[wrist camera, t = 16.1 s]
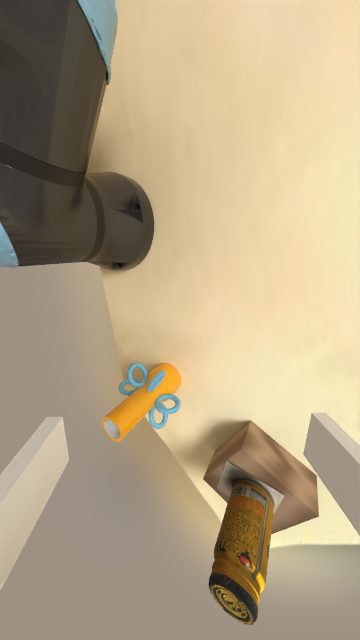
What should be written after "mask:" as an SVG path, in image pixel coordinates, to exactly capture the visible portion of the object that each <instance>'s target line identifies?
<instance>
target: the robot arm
mask: <svg viewBox="0 0 360 640" xmlns="http://www.w3.org/2000/svg"><path fill="white" fill-rule="evenodd" d="M117 21H118V18H117V8H116V3H115V0H0V267H11V268H16V267H18V266H31V265H45V264H59V263H72V262H89V263H92V264H95V265H99V266H102V267H105V268H108V269H112V270H123V269H130V268H133V267H135V266H137V265H138V264H139V263H140V262H141V261H142V260H143V259H144V258H145V257H146V255H147V253H148V251H149V249H150V247H151V243H152V240H153V234H154V218H153V212H152V208H151V204H150V202H149V199H148V197H147V195H146V193H145V192H144V190H143V189H142V188H141V186H140V185H139V184H138V183H137V182H135V181H134V180H132V179H131V178H128V177H126V176H123V175H121V174H118V173H113V172H106V173H96V174H86V171H87V167H88V162H89V158H90V154H91V149H92V145H93V141H94V136H95V132H96V128H97V123H98V119H99V115H100V110H101V106H102V102H103V97H104V93H105V89H106V85H108V84H109V82H110V78H111V69H110V64H111V59H112V54H113V48H114V43H115V38H116V33H117ZM64 431H65V430H64V424H63V418H62V417H47V418H46V419H45V420H44V422H43V423H42V424H41V425H40V427H39V428H38V429H37V430H36V431H35V433H34V434H33V435H32V436H31V438H30V439H29V440H28V441H27V443H26V444H25V445H24V446H23V447H22V449H21V450H20V451H19V452H18V454H17V455H16V456H15V457H14V459H13V460H12V461H11V462H10V463H9V465H8V466H7V467H6V468H5V470H4V471H3V472H2V473H1V475H0V590H1V588H2V587H3V585H4V583H5V581H6V579H7V577H8V575H9V573H10V571H11V569H12V567H13V566H14V564H15V562H16V560H17V558H18V556H19V554H20V552H21V550H22V548H23V547H24V545H25V543H26V541H27V539H28V537H29V535H30V533H31V531H32V529H33V528H34V525H35V524H36V522H37V520H38V518H39V516H40V514H41V512H42V510H43V508H44V506H45V505H46V503H47V501H48V499H49V497H50V495H51V493H52V491H53V489H54V487H55V486H56V484H57V482H58V480H59V478H60V476H61V474H62V472H63V470H64V468H65V466H66V465H67V463H68V461H69V456H68V450H67V444H66V437H65V432H64ZM304 456H305V457H306V459H307V460H308V461H309V463H310V464H311V466H312V467H313V469H314V470H315V472H316V473H317V474H318V476H319V477H320V479H321V480H322V482H323V483H324V485H325V486H326V487H327V489H328V490H329V492H330V493H331V495H332V496H333V498H334V499H335V500H336V502H337V503H338V505H339V506H340V508H341V509H342V511H343V512H344V513H345V515H346V516H347V518H348V519H349V521H350V522H351V524H352V525H353V527H354V528H355V529H356V531H357V532H358V534H359V535H360V446H359V445H358V444H357V443H356V442H355V441H354V440H353V439H352V438H351V437H350V436H349V435H348V434H347V433H346V432H345V431H344V430H343V429H342V428H341V427H340V426H339V425H338V424H337V423H336V422H335V421H334V420H333V419H332V418H331V417H330V416H329V415H327V414H326V413H312V415H311V419H310V424H309V429H308V434H307V439H306V444H305V449H304Z"/></svg>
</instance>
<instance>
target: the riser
mask: <svg viewBox="0 0 360 640" xmlns="http://www.w3.org/2000/svg"><path fill="white" fill-rule="evenodd" d="M226 461H227V462H229V463H230V464H232V465H233V466H236V467H238V468H239V469H241V470H242V471H244V472H246V473H247V474H248V475H251V476H253V477H254V478H256V479H258V480H259V481H262V482H263V483H265V484H266V485H268V486H270V487H272V488H273V489H275V490H276V491H278V492H279V493H281V494H282V495H284V498H283V500H282V501H281V503H280V504H279V506H278V507H277V509H276V511H275V513H274V515H273V521H272V530H271V534H273V533H276V532H279V531H281V530H284V529H287V528H289V527H292V526H295V525H297V524H300V523H303V522H305V521H308V520H311V519H313V518H316V517H319V512H318V494H317V476H316V475H315V474H314V473H313V472H311V471H310V470H309V469H308V468H307V467H305V466H304V465H303V464H302V463H301V462H300V461H298V460H297V459H296V458H295V457H294V456H292V455H291V454H290V453H289V452H288V451H286V450H285V449H284V448H283V447H282V446H280V445H279V444H278V443H277V442H276V441H275V440H273V439H272V438H271V437H270V436H269V435H267V434H266V433H265V432H264V431H263V430H261V429H260V428H259V427H258V426H257V425H256V424H254V423H253V422H252V421H250V422H249V423H248V424H246V425H245V426H244V427H243V428H242V429H241V430H239V431H238V432H237V433H236V434H235V435H234V436H233V437H231V438H230V439H229V440H228V441H227V442H226V443H224V444H223V445H222V446H221V447H220V448H219V449H218V450H216V451H215V453H214V455H213V458H212V460H211V462H210V464H209V467H208V469H207V471H206V474H205V476H204V478H203V479H204V480H205V481H206V482H207V483H208V484H209V485H210V486H211V487H212V488H213V489H214V490H215V491H216V492H217V493H218V494H219V495H220V496H221V497H222V498H223V499H224V500H225V501H226V502H227V503H228V501H229V496H227V495H226V494H225V493H223V492H221V491H220V490H219V489H217V486H218V484H219V481H220V478H221V475H222V472H223V469H224V466H225V463H226Z"/></svg>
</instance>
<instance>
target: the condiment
mask: <svg viewBox="0 0 360 640" xmlns="http://www.w3.org/2000/svg"><path fill="white" fill-rule="evenodd" d="M217 489H219V490H220V491H221V492H223V493H225V494H226V495H227V496H229V501H228V504H227V507H226V511H225V514H224V518H223V521H222V525H221V528H220V532H219V535H218V538H217V542H216V544H215V549H214V558H215V561H214V563H213V566H212V573H211V576H210V578H209V588H210V591H211V594H212V595H213V597H214V598H215V600H216V602H217V603H218V604H219V605H220V606H221V607H222V608H223V609H224V610H225V612H227V613H228V614H229V615H230V616H232V617H233V618H234V619H236V620H238V621H240V622H241V623H244V624H248V625H252V624H253V623H254V622H255V621H256V619H257V614H258V604H259V602H260V592H262V591H263V590H264V587H265V582H266V575H267V564H268V556H269V547H270V540H271V530H272V521H273V515H274V513H275V511H276V509H277V507H278V506H279V504H280V503H281V501H282V500H283V498H284V495H282V494H281V493H279V492H278V491H276V490H275V489H273V488H272V487H270V486H268V485H266V484H265V483H263V482H262V481H259V480H258V479H256V478H254V477H253V476H251V475H248V474H247V473H246V472H244V471H242V470H241V469H239V468H238V467H236V466H233V465H232V464H230V463H229V462H227V461H226V463H225V466H224V469H223V472H222V475H221V478H220V481H219V484H218V486H217Z"/></svg>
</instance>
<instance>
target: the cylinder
mask: <svg viewBox="0 0 360 640" xmlns="http://www.w3.org/2000/svg"><path fill="white" fill-rule="evenodd" d="M136 367H138V368H140V369H141V370H142V371H143V375H144V378H143V381H142V382H140V381H139V380H137V379H133V377H132V372H133V369H134V368H136ZM180 382H181V379H180V376H179V373H178V372H177V370H176V369H175V368H174V367H173V366H171V365H169V364H164V363H163V364H160V365H158V366H157V367H155V368H154V369H153V370H152V371H150V372H149V373H147V370H146V368H145V367H144V365H142V364H140V363H134V364H132V365H131V366H130V367H129V369H128V380H125V381H123V382H122V383H121V384H120V385H119V391H120V392H121V393H122V394H124V395H128V396H129V397H128V398H127V399H125V400H124V401H123V402H122V403H121V404H120V405H118V406H117V407H116V408H115V409H114V410H113V411H111V412H110V413H109V414H108V415H106V416H105V417H104V418H103V419H102V426H103V429H104V431H105V433H106V434H107V435H108V436H109V437H110V438H111V439H112V440H114V441H116V442H120V441H121V440H122V439H123V438H124V437H125V436H126V435H127V434H128V433H129V432H130V431H131V430H132V428H134V426H135V425H136V424H137V423H138V422H139V421H140V420H141V419H142V418H143V417H144V416H145V415H146V414H147V413H148V412H149V421H150V423H151V425H152V426H153V427H154V428H156V429H160V428H162V427H164V425H165V424H166V422H167V417H168V414H172V413H174V412H176V411H177V410H178V409H179V407H180V400H179V399H178V398H177V397H176V396H174V395H172V394H173V393H174V392H175V391H176V390H177V389H178V388H179V386H180ZM129 383H130V384H131V385H132V386H134V387H136V388H137V389H135V390H133V391H126V390H124V389H123V387H124V386H125V385H126V384H129ZM168 399H172V400H174V401H175V403H176V405H175V406H174V407H173V408H170V409H166V407H165V406H164V405H163V404H162V403H160V402H164V401H166V400H168ZM155 408H156V409H157V410H158V411H159V412H161V413H163V420H162V422H161V423H160V424H157V423H156V422H155V420H154V417H153V413H154V410H155Z"/></svg>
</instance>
